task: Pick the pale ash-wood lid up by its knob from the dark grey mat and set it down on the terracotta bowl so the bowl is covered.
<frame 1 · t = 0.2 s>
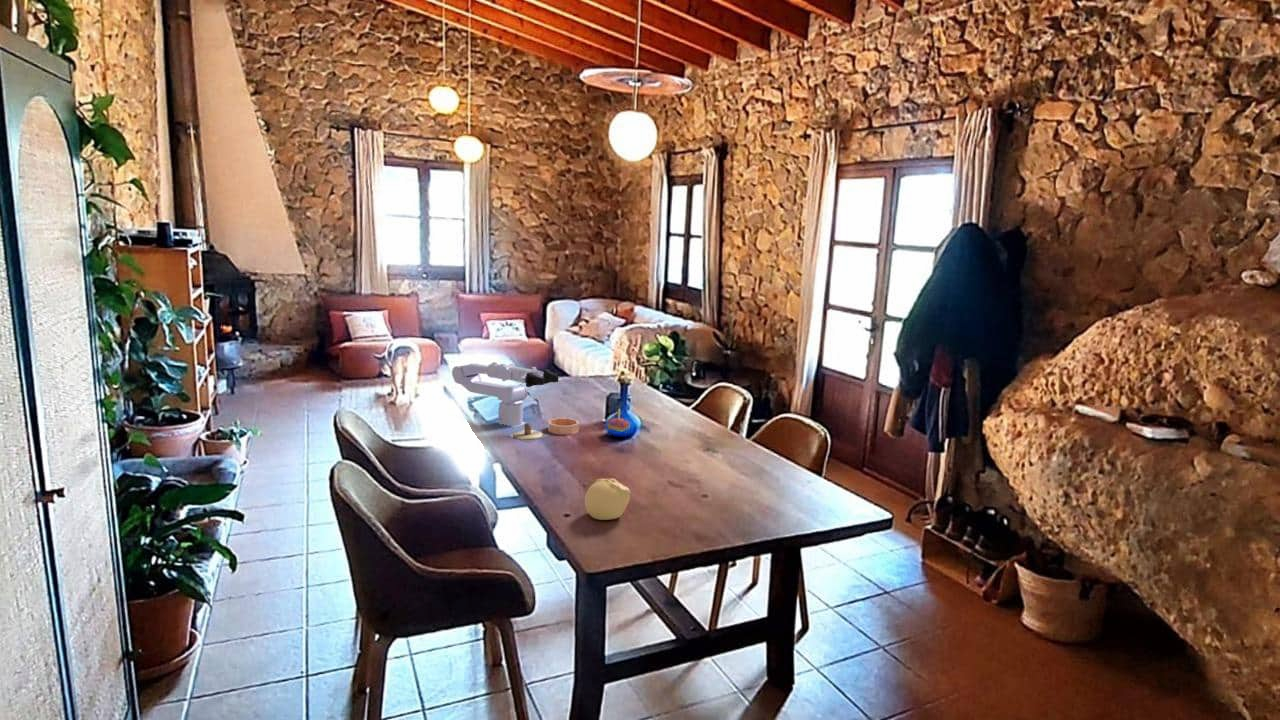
hand: (551, 380, 275), 21 cm above the table, tool horizontal, fingers open, 7 cm apart
lid: (527, 435, 275), resting on mat
cupcake: (618, 436, 281), on the table
butter: (605, 516, 206), on the table
mat: (527, 436, 275), on the table
bowl: (563, 430, 284), on the table
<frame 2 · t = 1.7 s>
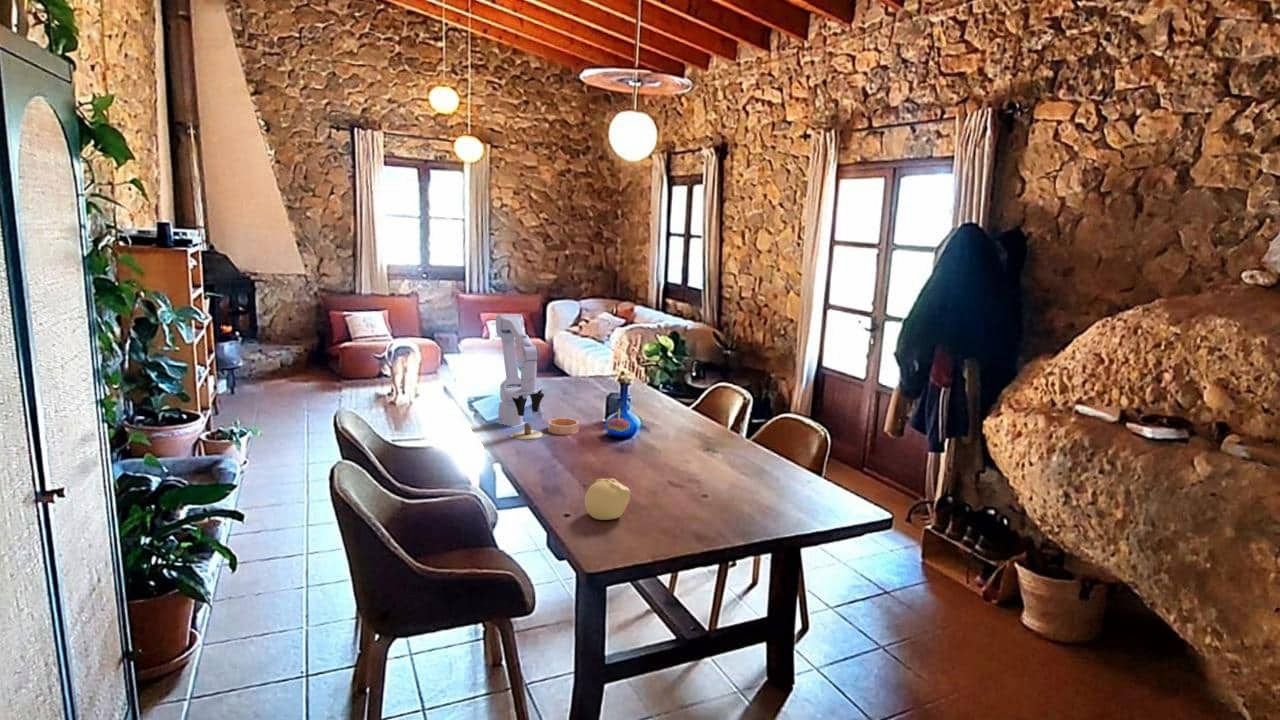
hand: (528, 413, 273), 9 cm above the table, tool pointing down, fingers open, 7 cm apart
nothing on the table moved.
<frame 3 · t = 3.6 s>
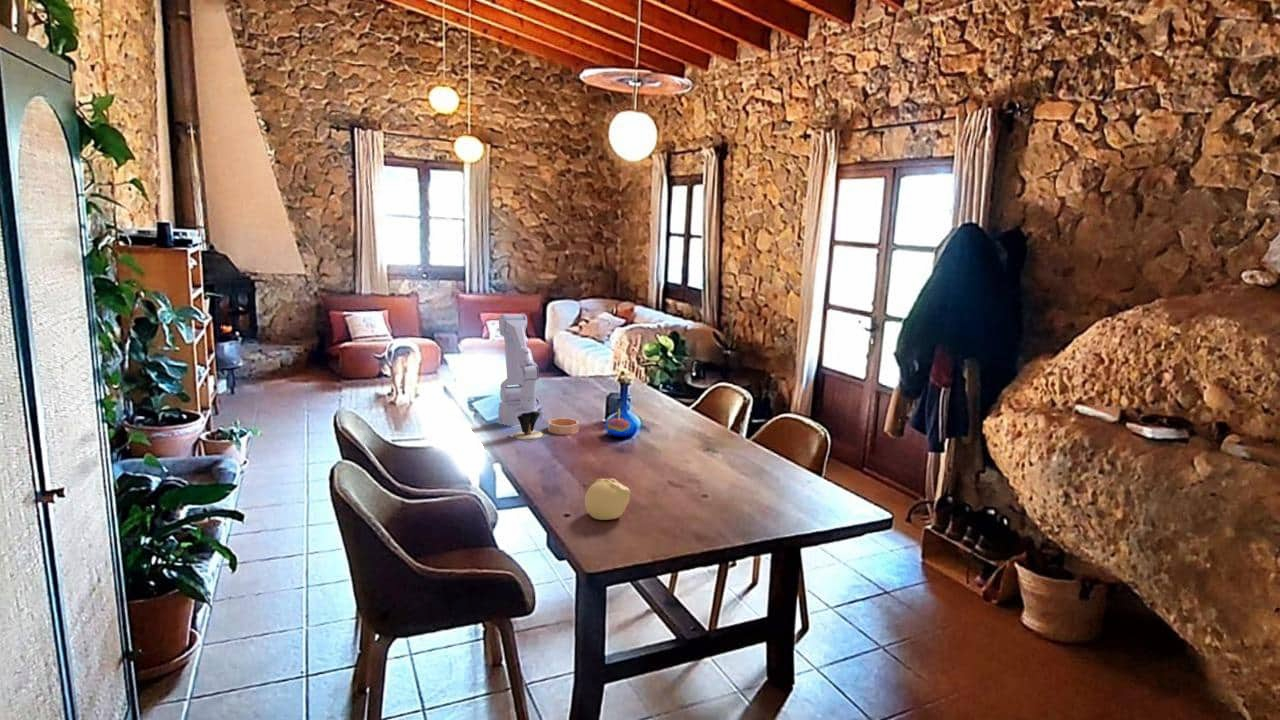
hand: (527, 431, 274), 2 cm above the table, tool pointing down, fingers closed on lid, 2 cm apart
lid: (527, 435, 275), resting on mat, touching gripper
everything else where it was.
when the fingers open (6 cm above the table, at t = 6.3 s): lid stays where it is, resting on bowl.
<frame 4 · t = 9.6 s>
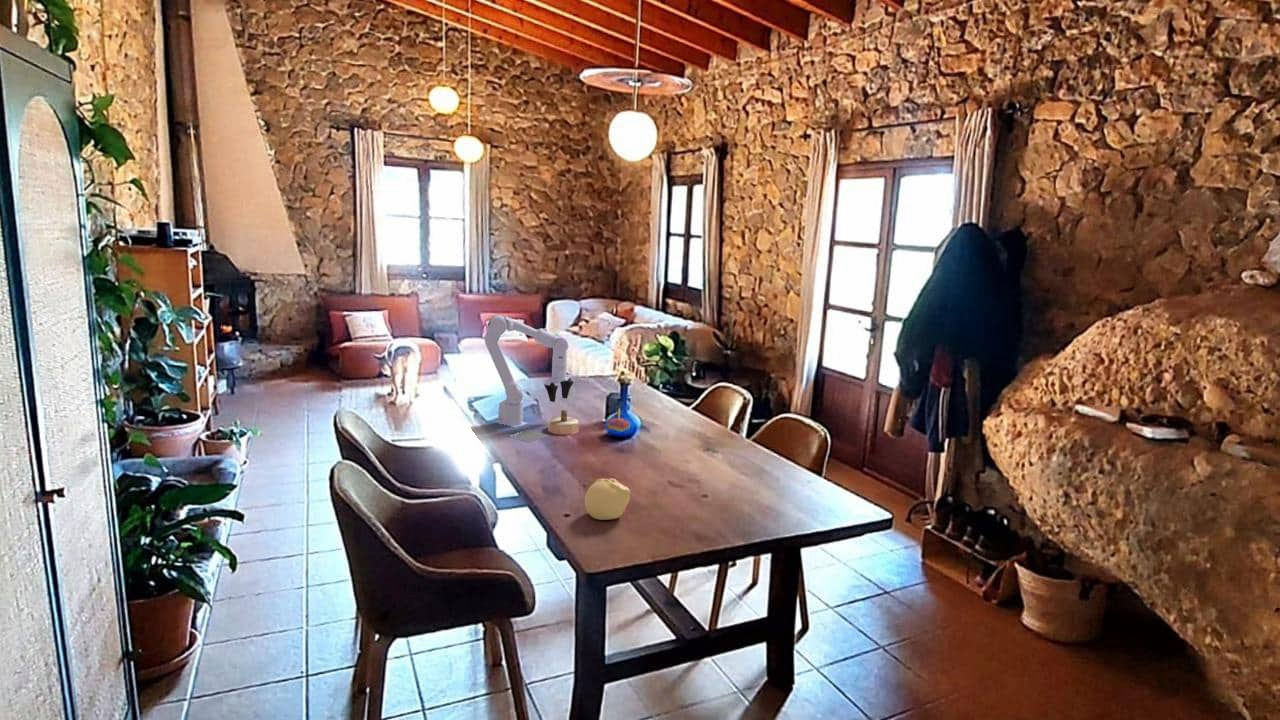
hand: (558, 399, 292), 10 cm above the table, tool pointing down, fingers open, 7 cm apart
lid: (563, 422, 284), point 3 cm above the table, touching bowl
everything else where it was.
at the end: lid 0.1 cm off-centre on the bowl, point 3.5 cm above the bowl's base; lid tilted 0°; the gripper is holding nothing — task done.
